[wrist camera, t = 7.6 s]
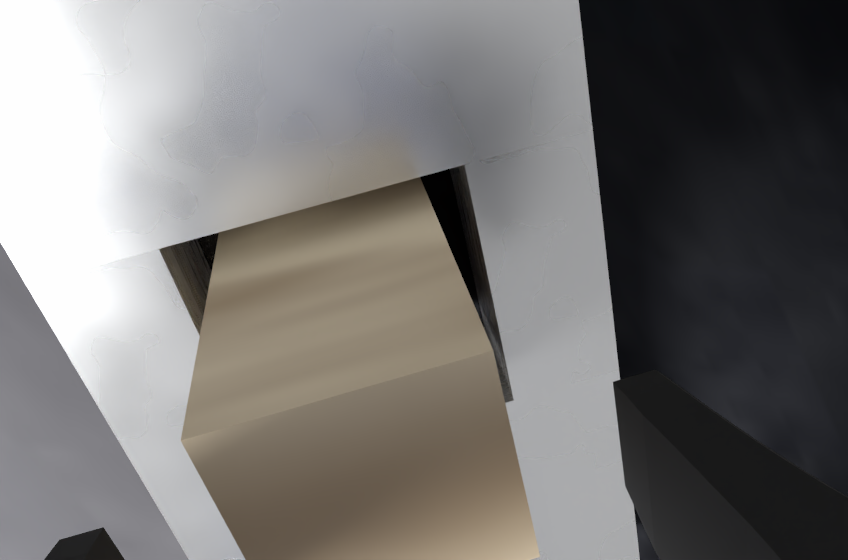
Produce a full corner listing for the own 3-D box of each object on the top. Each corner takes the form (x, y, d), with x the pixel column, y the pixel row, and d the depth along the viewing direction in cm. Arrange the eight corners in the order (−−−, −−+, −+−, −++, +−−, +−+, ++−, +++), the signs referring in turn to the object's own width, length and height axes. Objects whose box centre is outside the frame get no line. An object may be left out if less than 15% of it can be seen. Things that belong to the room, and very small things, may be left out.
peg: (451, 314, 17) (540, 556, 11) (285, 362, 17) (285, 632, 11) (411, 157, 15) (493, 351, 9) (223, 210, 15) (181, 440, 9)
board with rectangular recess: (610, 536, 22) (645, 610, 20) (283, 631, 22) (282, 716, 19) (515, -150, 13) (561, -153, 11) (-55, 0, 12) (-126, 29, 10)
